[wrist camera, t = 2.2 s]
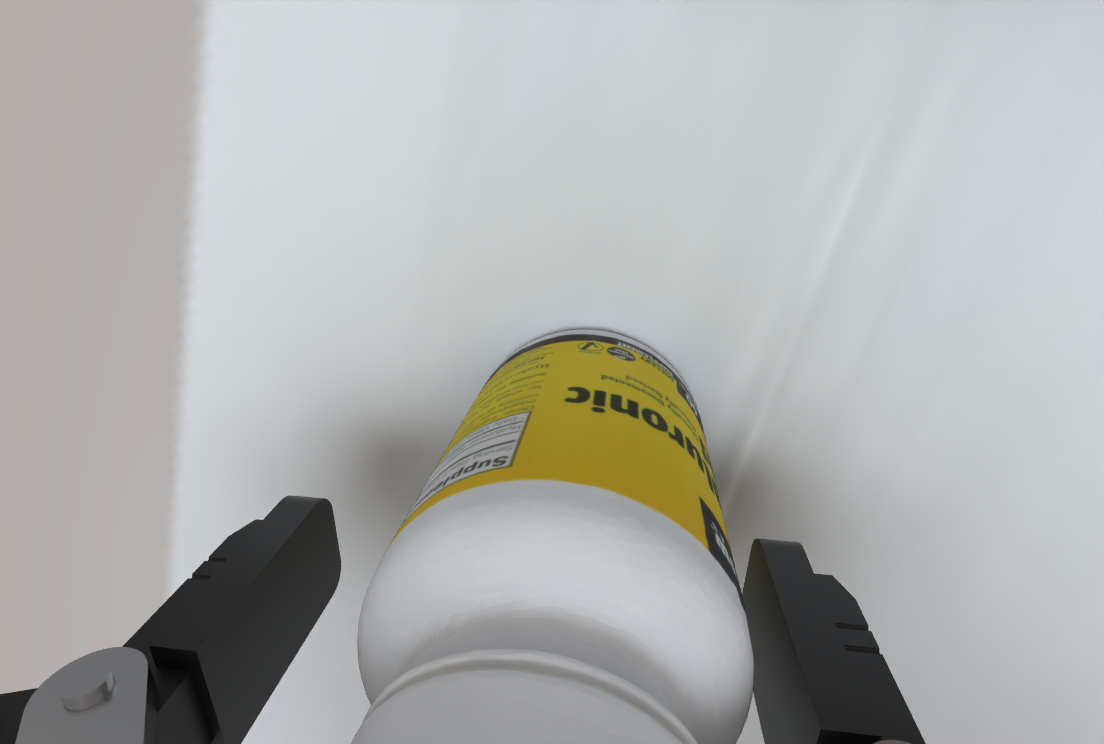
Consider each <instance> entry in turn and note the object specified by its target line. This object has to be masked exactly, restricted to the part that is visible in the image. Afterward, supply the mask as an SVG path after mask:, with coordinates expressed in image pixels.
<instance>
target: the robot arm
mask: <svg viewBox="0 0 1104 744" xmlns="http://www.w3.org/2000/svg"><path fill="white" fill-rule="evenodd" d="M340 572H341V558H340V552H339V545H338V539H337V533H336V527H335V521H334V515H333V509H332V505H331V503H330V501H329V500H328V499H323V498H312V497H301V496H286V497H285V498H283V499H282V500H281V501H280V502H279V503H278V504H277V505H276V507H275V508H274V509H273V510H272V511H271V512H270V513H269V514H268V515H267V516H266V517H265V519H264V520H254V521H253V522H251V523H249V524H248V525H246V526H245V527H243V528H241V529H240V530H238V531H236V532H235V533H233V534H232V535H230V536H228V538H227V539H226V540H225V541H224V542H223V543H222V544H221V545H220V546H219V547H218V548H217V549H216V550H215V551H214V552H213V553H212V554H211V555H210V556H209V560H208V561H204V562H203V563H202V565H201V566H200V567H199V568H198V569H197V570H196V571H195V572H194V573H193V574H192V578H191V579H189V578H188V579H187V580H186V581H185V582H184V583H183V584H182V585H181V586H180V587H179V588H178V589H177V590H176V592H175V593H174V594H173V595H172V596H171V597H170V598H169V599H168V600H167V601H166V602H165V603H164V604H163V605H162V606H161V607H160V608H159V609H158V610H157V611H156V612H155V613H154V614H153V615H152V616H151V618H150V619H149V620H148V621H147V622H146V623H145V624H144V625H143V626H142V627H141V628H140V629H139V630H138V631H137V632H136V633H135V634H134V635H133V636H132V637H131V638H130V639H129V640H128V641H127V642H126V643H125V644H124V645H123V646H122V647H114V648H108V649H103V650H99V651H96V652H93V653H90V654H88V655H85V656H83V657H81V658H79V659H77V660H75V661H73V662H71V663H69V664H68V665H66V666H64V667H63V668H61V669H60V670H58V671H57V672H55V673H54V674H53V675H52V676H50V677H49V678H48V679H47V680H46V681H45V682H44V683H43V684H42V685H41V686H40V687H39V688H36V689H30V690H24V691H18V692H12V693H6V694H0V744H241V743H242V741H243V739H244V738H245V736H246V735H247V733H248V731H249V730H250V728H251V727H252V725H253V723H254V722H255V720H256V718H257V717H258V715H259V714H260V712H261V710H262V709H263V707H264V706H265V704H266V702H267V701H268V699H269V698H270V696H271V694H272V693H273V691H274V690H275V688H276V686H277V685H278V683H279V681H280V680H281V678H282V677H283V675H284V673H285V672H286V670H287V669H288V667H289V665H290V664H291V662H292V661H293V659H294V657H295V656H296V654H297V652H298V651H299V649H300V648H301V646H302V644H303V643H304V641H305V640H306V638H307V636H308V635H309V633H310V632H311V630H312V628H313V627H314V625H315V623H316V622H317V620H318V619H319V617H320V615H321V614H322V612H323V611H324V609H325V607H326V606H327V604H328V603H329V601H330V599H331V598H332V596H333V594H334V592H335V590H336V588H337V585H338V582H339V578H340ZM742 596H743V600H744V604H745V608H746V618H747V625H748V630H749V635H750V640H751V646H752V652H753V661H754V676H753V693H754V697H755V702H756V706H757V711H758V715H759V719H760V724H761V728H762V733H763V737H764V742H765V744H925V742H924V740H923V738H922V736H921V734H920V731H919V729H918V727H917V725H916V723H915V721H914V719H913V717H912V715H911V713H910V711H909V709H908V707H907V705H906V703H905V700H904V698H903V696H902V694H901V692H900V690H899V688H898V686H897V684H896V682H895V680H894V678H893V676H892V674H891V672H890V669H889V667H888V665H887V663H886V661H885V659H884V657H883V655H882V654H880V653H879V647H878V645H877V643H876V640H875V638H874V636H873V634H872V632H871V631H869V630H868V624H867V622H866V620H865V618H864V616H863V614H862V612H861V609H860V607H859V605H858V603H857V601H856V599H855V598H854V597H853V596H852V595H851V594H850V593H849V592H848V591H847V590H846V589H845V588H844V587H843V586H842V585H841V584H840V583H839V582H838V581H837V580H836V579H835V578H834V577H833V576H832V575H822V574H814V572H813V570H812V568H811V565H810V563H809V561H808V558H807V556H806V553H805V551H804V549H803V547H802V545H801V544H800V543H798V542H789V541H777V540H766V539H755V540H754V542H753V544H752V548H751V552H750V558H749V563H748V568H747V573H746V578H745V583H744V588H743V593H742Z"/></svg>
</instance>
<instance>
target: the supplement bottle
mask: <svg viewBox="0 0 1104 744" xmlns="http://www.w3.org/2000/svg"><path fill="white" fill-rule="evenodd" d="M358 660H359V668H360V673H361V678H362V681H363V684H364V688H365V691H366V695H367V697H368V699H369V701H370V703H371V707H370V709H369V711H368V712H367V714H366V716H365V718H364V721H363V723H362V725H361V727H360V728H359V730H358V732H357V733H356V735H355V737H354V739H353V741H352V743H351V744H736V742H737V740H738V738H739V736H740V734H741V732H742V729H743V727H744V724H745V721H746V719H747V715H748V712H749V708H750V704H751V699H752V692H753V676H754V661H753V652H752V646H751V640H750V635H749V630H748V625H747V618H746V608H745V604H744V600H743V596H742V593H741V590H740V586H739V582H738V578H737V574H736V571H735V565H734V561H733V557H732V553H731V549H730V544H729V540H728V536H727V532H726V527H725V522H724V519H723V515H722V510H721V505H720V501H719V496H718V492H717V487H716V483H715V479H714V475H713V470H712V466H711V462H710V458H709V454H708V449H707V445H706V439H705V435H704V431H703V427H702V422H701V419H700V416H699V413H698V410H697V407H696V404H695V402H694V400H693V397H692V395H691V393H690V391H689V389H688V388H687V386H686V384H685V383H684V381H683V380H682V378H681V377H680V375H679V374H678V373H677V372H676V371H675V369H674V368H673V367H672V366H671V365H670V364H669V363H668V362H667V361H666V360H665V359H663V358H662V357H661V356H660V355H658V354H657V353H656V352H654V351H653V350H651V349H650V348H648V347H646V346H645V345H643V344H641V343H639V342H637V341H635V340H633V339H630V338H627V337H625V336H622V335H619V334H615V333H611V332H606V331H601V330H589V329H581V330H569V331H562V332H558V333H554V334H550V335H547V336H544V337H541V338H539V339H536V340H534V341H532V342H530V343H528V344H526V345H525V346H523V347H521V348H520V349H518V350H517V351H515V352H514V353H513V354H511V355H510V356H509V357H508V358H507V359H506V360H505V361H504V362H503V363H502V364H501V365H500V366H499V367H498V368H497V369H496V371H495V372H494V373H493V374H492V376H491V377H490V378H489V380H488V381H487V382H486V384H485V386H484V387H483V389H482V390H481V392H480V394H479V395H478V397H477V399H476V400H475V402H474V404H473V405H472V407H471V409H470V410H469V412H468V414H467V415H466V417H465V419H464V420H463V422H462V424H461V426H460V427H459V429H458V430H457V432H456V434H455V435H454V438H453V439H452V441H451V442H450V444H449V446H448V447H447V449H446V451H445V452H444V454H443V456H442V457H441V459H440V461H439V463H438V465H437V466H436V468H435V470H434V471H433V473H432V474H431V476H430V478H429V480H428V482H427V483H426V485H425V487H424V488H423V490H422V492H421V494H420V495H419V497H418V499H417V500H416V502H415V504H414V505H413V506H412V508H411V510H410V512H409V514H408V515H407V517H406V519H405V520H404V522H403V523H402V525H401V526H400V528H399V530H398V532H397V533H396V535H395V537H394V538H393V540H392V542H391V543H390V545H389V547H388V549H387V550H386V552H385V554H384V556H383V558H382V560H381V562H380V564H379V566H378V568H377V570H376V572H375V574H374V576H373V578H372V581H371V583H370V585H369V587H368V589H367V592H366V595H365V598H364V602H363V605H362V609H361V614H360V619H359V626H358Z"/></svg>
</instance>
